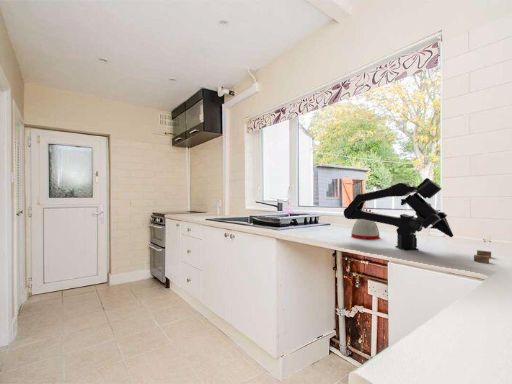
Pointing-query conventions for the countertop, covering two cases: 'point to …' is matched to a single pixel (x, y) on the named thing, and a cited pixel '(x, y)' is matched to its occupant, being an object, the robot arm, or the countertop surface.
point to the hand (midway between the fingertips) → (452, 236)
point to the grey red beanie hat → (365, 229)
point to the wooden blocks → (482, 256)
